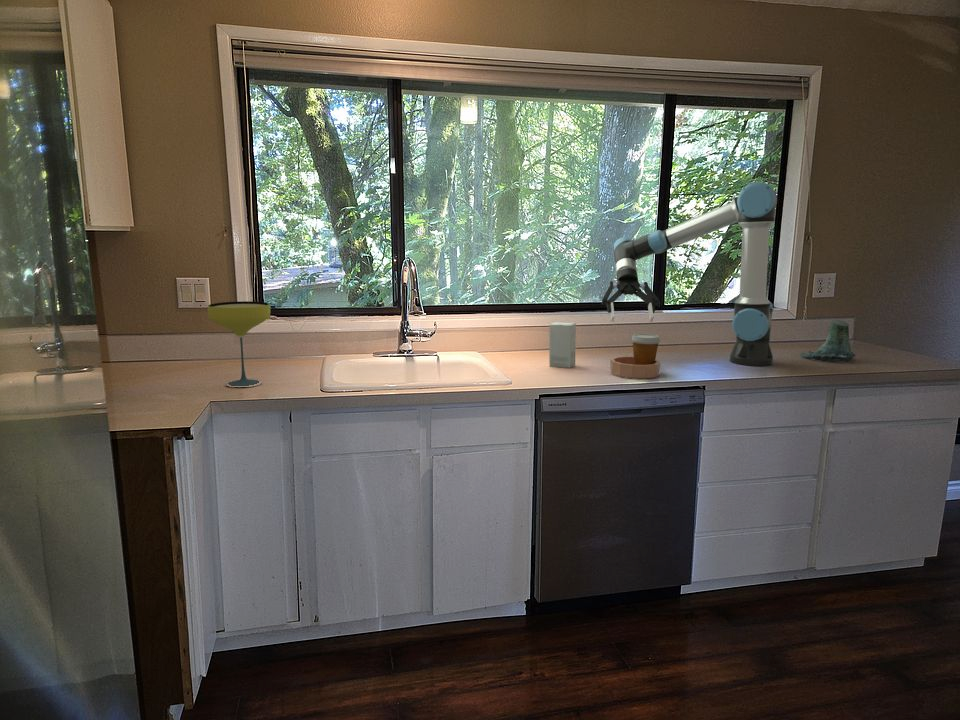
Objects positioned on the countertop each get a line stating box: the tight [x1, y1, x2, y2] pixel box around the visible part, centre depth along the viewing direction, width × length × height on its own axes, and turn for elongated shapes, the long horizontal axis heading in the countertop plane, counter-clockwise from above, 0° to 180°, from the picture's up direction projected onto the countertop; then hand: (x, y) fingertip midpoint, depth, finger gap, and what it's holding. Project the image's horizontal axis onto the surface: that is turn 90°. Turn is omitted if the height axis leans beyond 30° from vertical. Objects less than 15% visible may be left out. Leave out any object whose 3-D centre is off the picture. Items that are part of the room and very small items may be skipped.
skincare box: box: [548, 321, 577, 369], centre depth 240 cm, size 8×7×16 cm
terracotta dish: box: [609, 355, 661, 380], centre depth 229 cm, size 16×16×4 cm
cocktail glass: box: [207, 300, 271, 386], centre depth 206 cm, size 18×18×25 cm
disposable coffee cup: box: [631, 333, 661, 365], centre depth 229 cm, size 10×10×12 cm
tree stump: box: [799, 319, 857, 363], centre depth 258 cm, size 18×20×18 cm
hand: (632, 319), depth 236 cm, fingers open, 13 cm apart
